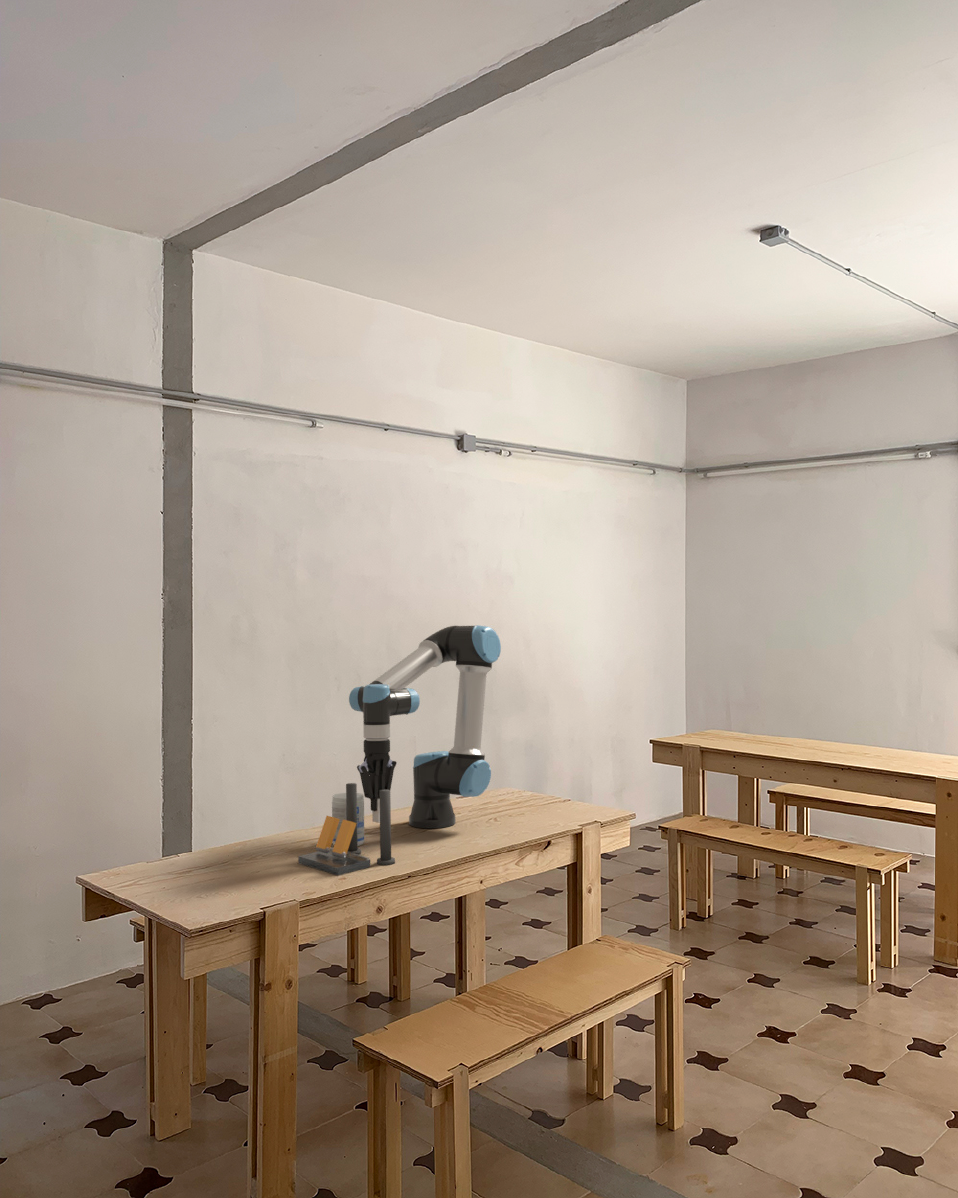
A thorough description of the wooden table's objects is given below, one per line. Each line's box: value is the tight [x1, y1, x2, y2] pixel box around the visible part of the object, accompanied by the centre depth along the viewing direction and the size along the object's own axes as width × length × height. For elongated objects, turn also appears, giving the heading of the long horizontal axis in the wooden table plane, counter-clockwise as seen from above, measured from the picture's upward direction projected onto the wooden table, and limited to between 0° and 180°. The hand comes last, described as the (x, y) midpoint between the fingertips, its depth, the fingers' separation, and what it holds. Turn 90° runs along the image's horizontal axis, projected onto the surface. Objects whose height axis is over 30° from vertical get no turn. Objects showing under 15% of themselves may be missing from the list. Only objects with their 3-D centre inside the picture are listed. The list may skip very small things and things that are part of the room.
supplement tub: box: [331, 792, 365, 847], centre depth 290 cm, size 10×10×15 cm
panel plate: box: [297, 846, 371, 876], centre depth 267 cm, size 11×18×3 cm, turn 45°
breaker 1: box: [332, 820, 356, 858], centre depth 267 cm, size 2×4×10 cm, turn 45°
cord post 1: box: [345, 782, 362, 855], centre depth 279 cm, size 5×5×20 cm
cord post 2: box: [376, 790, 396, 866], centre depth 268 cm, size 5×5×20 cm
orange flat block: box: [315, 815, 340, 853], centre depth 272 cm, size 2×4×10 cm, turn 46°
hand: (377, 821), depth 276 cm, fingers closed
